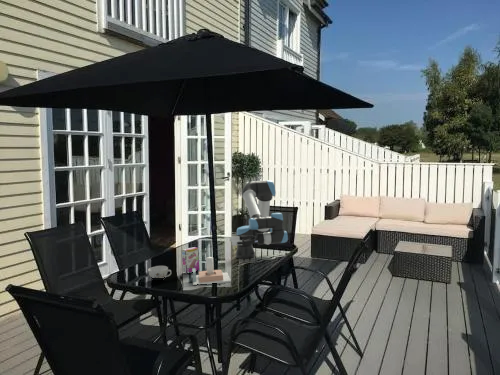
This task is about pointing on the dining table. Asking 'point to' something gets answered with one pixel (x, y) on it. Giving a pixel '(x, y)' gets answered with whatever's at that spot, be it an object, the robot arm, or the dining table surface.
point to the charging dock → (225, 276)
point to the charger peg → (210, 265)
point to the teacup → (159, 272)
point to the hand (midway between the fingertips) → (230, 241)
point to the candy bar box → (190, 259)
